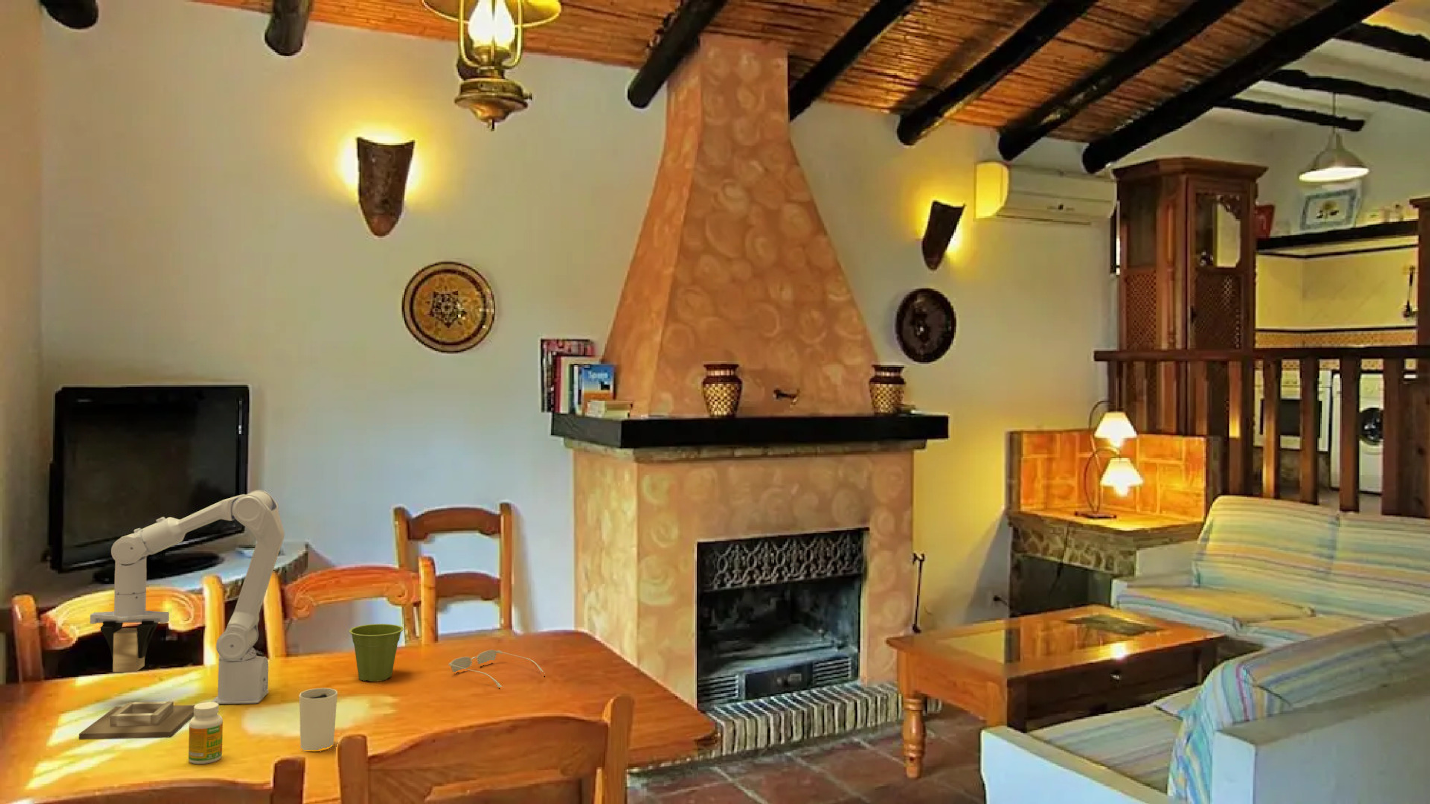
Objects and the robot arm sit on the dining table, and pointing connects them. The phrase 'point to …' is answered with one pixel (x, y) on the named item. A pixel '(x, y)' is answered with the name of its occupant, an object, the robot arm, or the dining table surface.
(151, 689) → the dining table surface
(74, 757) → the dining table surface
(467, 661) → the eyeglasses
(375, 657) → the plant pot
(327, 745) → the beige cup
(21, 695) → the dining table surface
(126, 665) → the birch peg
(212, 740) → the supplement bottle
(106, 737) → the square peg socket base
